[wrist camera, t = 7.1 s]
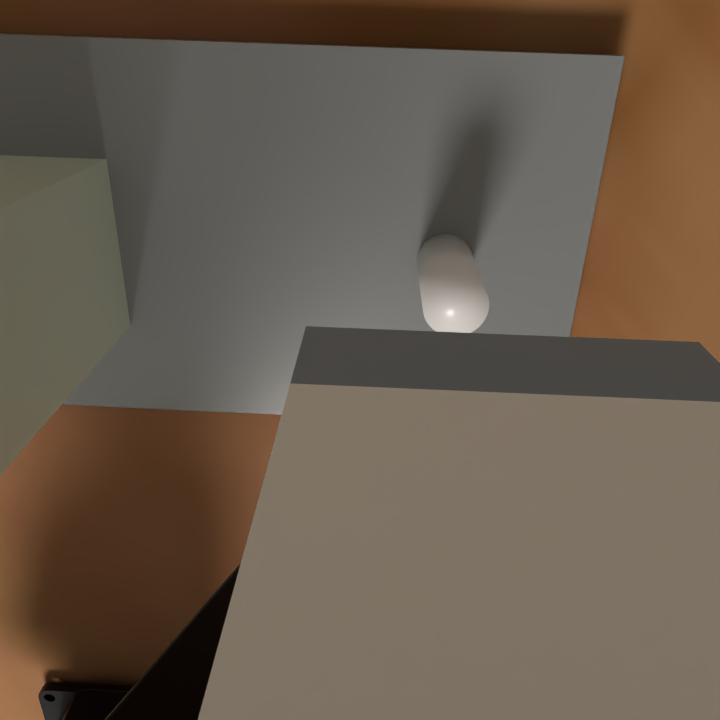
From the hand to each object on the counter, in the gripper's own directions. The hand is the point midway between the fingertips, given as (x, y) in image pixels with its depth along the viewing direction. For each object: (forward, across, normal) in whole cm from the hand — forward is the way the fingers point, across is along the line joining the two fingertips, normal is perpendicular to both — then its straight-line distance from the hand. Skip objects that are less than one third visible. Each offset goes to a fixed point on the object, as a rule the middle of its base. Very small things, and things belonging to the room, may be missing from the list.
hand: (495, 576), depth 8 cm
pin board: (+13, +6, 0) cm, 14 cm away
